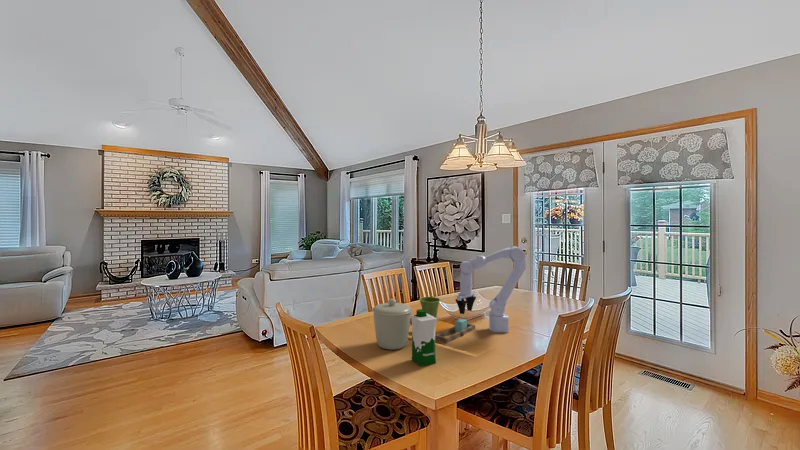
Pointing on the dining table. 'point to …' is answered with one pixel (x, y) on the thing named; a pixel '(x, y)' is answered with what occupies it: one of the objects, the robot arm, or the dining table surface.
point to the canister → (392, 324)
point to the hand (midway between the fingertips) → (465, 312)
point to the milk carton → (423, 338)
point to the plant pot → (430, 305)
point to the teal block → (460, 324)
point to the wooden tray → (461, 333)
